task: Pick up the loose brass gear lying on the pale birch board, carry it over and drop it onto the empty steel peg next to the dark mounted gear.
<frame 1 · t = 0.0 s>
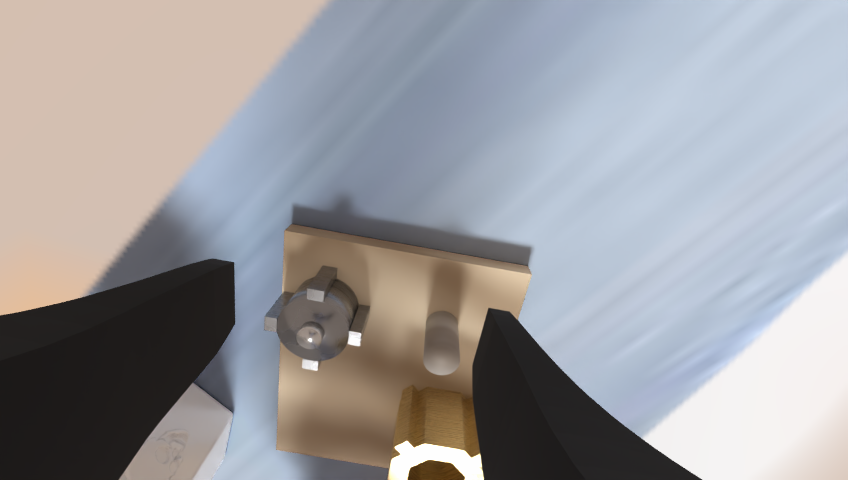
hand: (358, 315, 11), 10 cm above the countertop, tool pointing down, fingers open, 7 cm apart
jar: (176, 416, 27), on the countertop
brass gear: (436, 419, 24), point 1 cm above the countertop, touching gear board
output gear: (326, 304, 22), resting on gear board
gear board: (390, 361, 24), on the countertop
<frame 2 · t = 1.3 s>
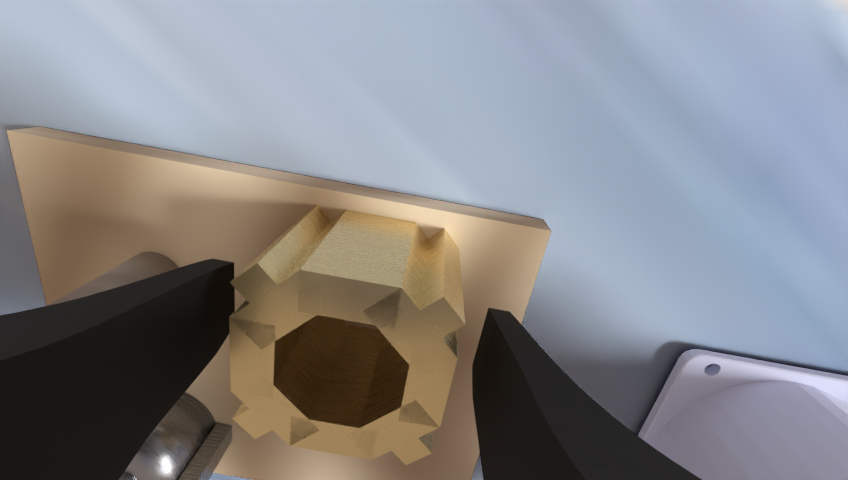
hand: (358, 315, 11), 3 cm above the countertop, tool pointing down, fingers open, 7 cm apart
brass gear: (371, 288, 13), point 1 cm above the countertop, touching gear board
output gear: (171, 422, 15), resting on gear board
gear board: (286, 341, 15), on the countertop
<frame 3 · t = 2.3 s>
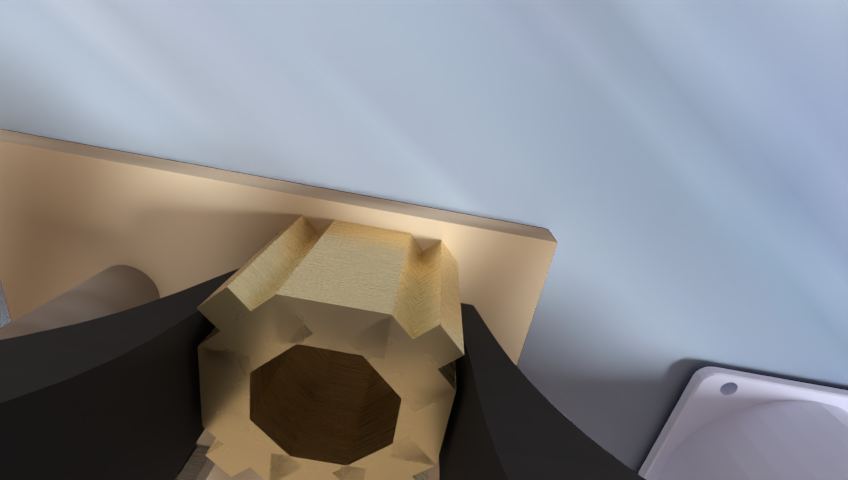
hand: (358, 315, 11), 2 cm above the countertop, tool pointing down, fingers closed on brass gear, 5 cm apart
brass gear: (362, 304, 12), point 1 cm above the countertop, touching gear board, gripper
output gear: (150, 444, 14), resting on gear board
gear board: (272, 358, 14), on the countertop
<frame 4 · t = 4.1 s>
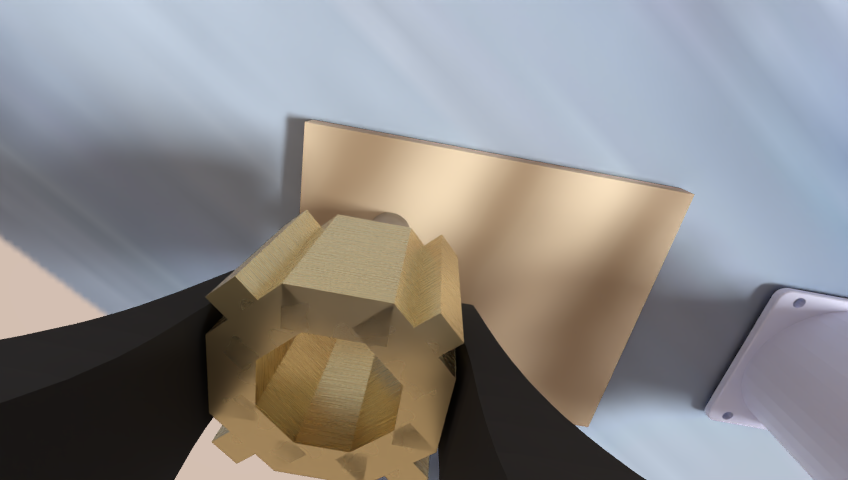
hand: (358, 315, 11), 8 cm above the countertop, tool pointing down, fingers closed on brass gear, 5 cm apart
brass gear: (364, 297, 12), point 7 cm above the countertop, touching gripper
gear board: (465, 286, 19), on the countertop
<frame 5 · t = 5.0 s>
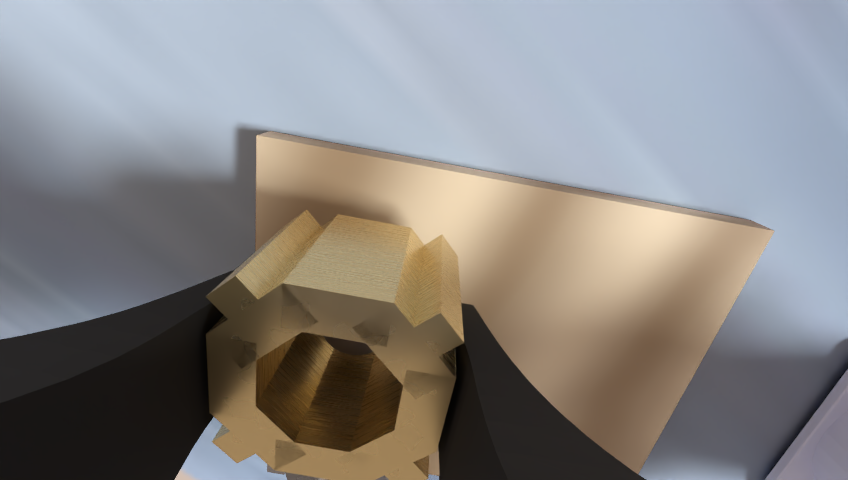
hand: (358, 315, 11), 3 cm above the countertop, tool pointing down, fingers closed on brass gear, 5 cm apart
brass gear: (364, 297, 12), point 3 cm above the countertop, touching gripper
gear board: (470, 338, 15), on the countertop
when the fingers open (3 cm above the countertop, at t = 5.7 s): brass gear drops 2 cm, resting on gear board.
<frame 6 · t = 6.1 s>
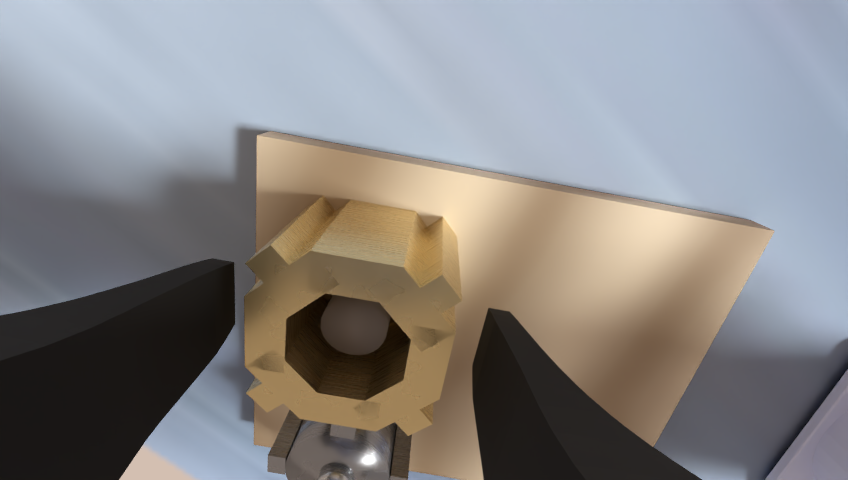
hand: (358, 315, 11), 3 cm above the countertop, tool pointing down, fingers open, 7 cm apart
brass gear: (373, 274, 13), point 1 cm above the countertop, touching gear board
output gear: (352, 417, 16), resting on gear board
gear board: (470, 338, 15), on the countertop
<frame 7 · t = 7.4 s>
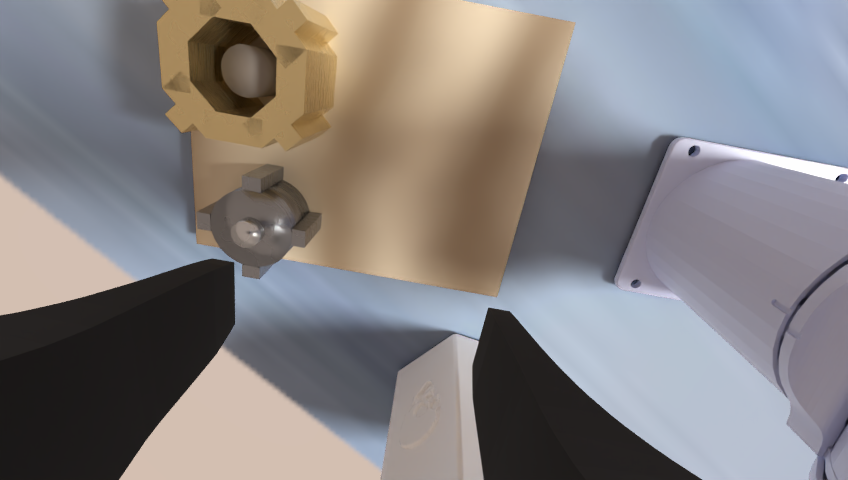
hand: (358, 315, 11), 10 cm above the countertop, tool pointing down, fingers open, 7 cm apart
jar: (465, 388, 25), on the countertop
brass gear: (278, 71, 17), point 1 cm above the countertop, touching gear board
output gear: (274, 212, 19), resting on gear board
gear board: (366, 143, 19), on the countertop
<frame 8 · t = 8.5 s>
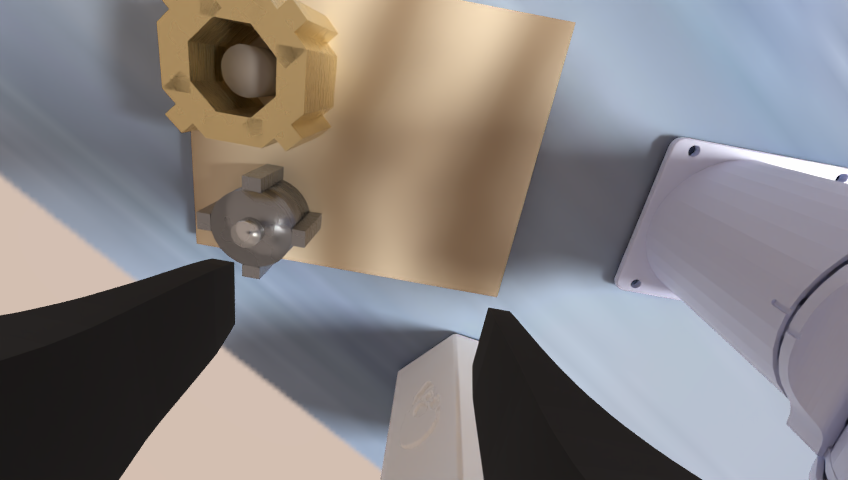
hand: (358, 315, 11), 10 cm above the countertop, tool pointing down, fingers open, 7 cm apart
jar: (465, 388, 25), on the countertop
brass gear: (278, 71, 17), point 1 cm above the countertop, touching gear board
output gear: (274, 212, 19), resting on gear board
gear board: (366, 143, 19), on the countertop
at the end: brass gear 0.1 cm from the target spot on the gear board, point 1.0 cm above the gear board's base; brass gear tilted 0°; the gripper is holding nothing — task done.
